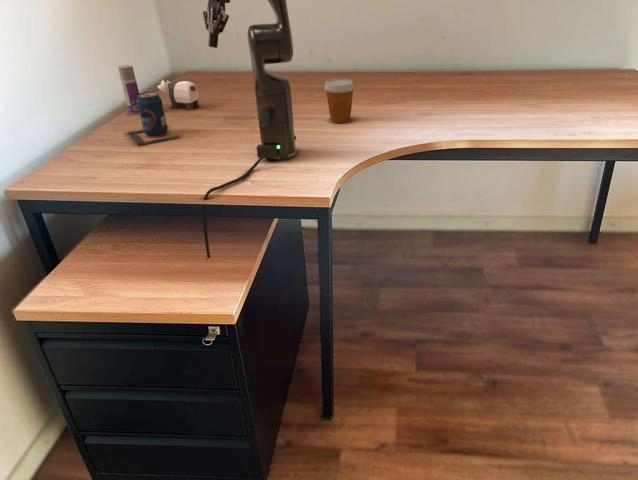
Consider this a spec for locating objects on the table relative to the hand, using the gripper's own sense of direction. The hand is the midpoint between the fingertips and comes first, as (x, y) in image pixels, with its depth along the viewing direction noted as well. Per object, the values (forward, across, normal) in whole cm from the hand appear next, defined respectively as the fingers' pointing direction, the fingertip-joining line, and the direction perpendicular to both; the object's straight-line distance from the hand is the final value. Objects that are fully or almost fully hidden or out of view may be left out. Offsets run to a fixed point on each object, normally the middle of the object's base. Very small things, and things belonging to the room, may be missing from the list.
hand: (212, 47), depth 161 cm
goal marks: (+28, -6, -13) cm, 31 cm away
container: (+26, -34, -10) cm, 44 cm away
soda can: (+28, -6, -13) cm, 31 cm away
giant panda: (+22, -30, +4) cm, 37 cm away
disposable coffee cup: (+15, +19, +37) cm, 44 cm away
